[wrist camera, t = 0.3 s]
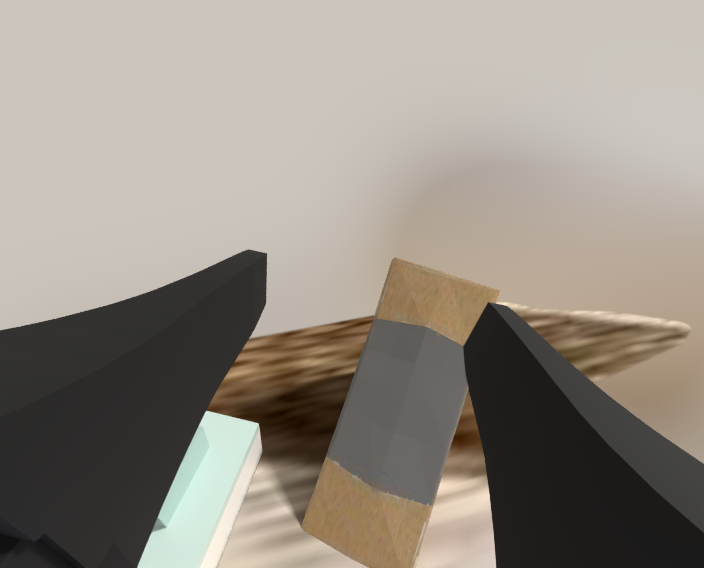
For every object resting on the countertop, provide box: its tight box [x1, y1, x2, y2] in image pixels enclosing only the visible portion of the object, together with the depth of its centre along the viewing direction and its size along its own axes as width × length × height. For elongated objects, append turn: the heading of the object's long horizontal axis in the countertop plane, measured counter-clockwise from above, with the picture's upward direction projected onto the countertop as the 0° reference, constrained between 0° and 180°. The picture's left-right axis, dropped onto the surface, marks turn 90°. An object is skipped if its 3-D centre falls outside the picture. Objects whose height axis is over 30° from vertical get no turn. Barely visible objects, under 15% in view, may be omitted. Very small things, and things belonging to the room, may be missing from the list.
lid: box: [137, 411, 259, 568], centre depth 18 cm, size 9×7×4 cm
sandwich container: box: [301, 257, 499, 568], centre depth 22 cm, size 9×15×15 cm, turn 159°
